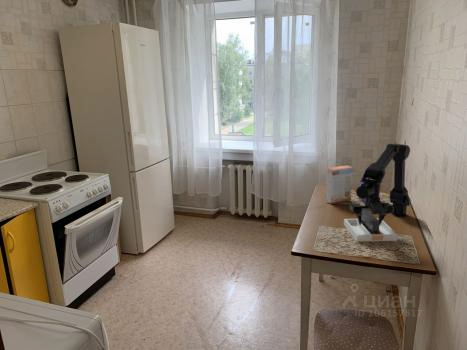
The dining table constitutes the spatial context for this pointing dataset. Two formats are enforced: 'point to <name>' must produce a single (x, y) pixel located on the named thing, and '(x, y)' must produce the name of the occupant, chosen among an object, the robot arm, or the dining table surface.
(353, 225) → the slot rack
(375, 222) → the panel
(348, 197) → the cracker box
